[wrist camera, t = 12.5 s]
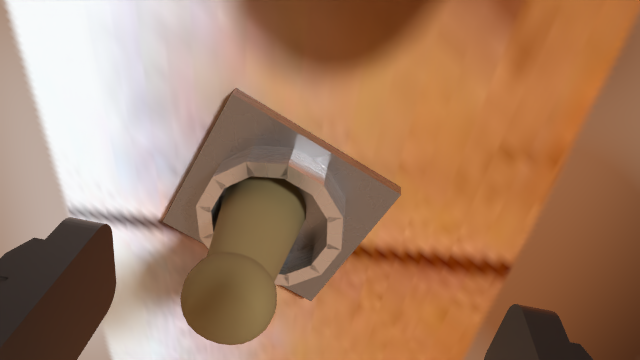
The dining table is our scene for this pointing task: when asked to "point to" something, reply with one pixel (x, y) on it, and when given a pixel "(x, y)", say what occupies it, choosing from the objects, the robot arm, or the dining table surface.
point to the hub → (299, 169)
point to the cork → (244, 261)
